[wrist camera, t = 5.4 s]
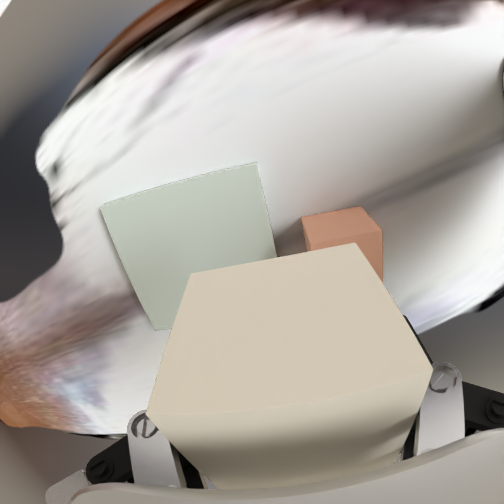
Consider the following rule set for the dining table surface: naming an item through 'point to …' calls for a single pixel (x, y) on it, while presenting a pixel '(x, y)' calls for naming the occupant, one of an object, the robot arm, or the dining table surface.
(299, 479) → the cream block
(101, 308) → the dining table surface
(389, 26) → the dining table surface
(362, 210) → the terracotta block
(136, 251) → the board
